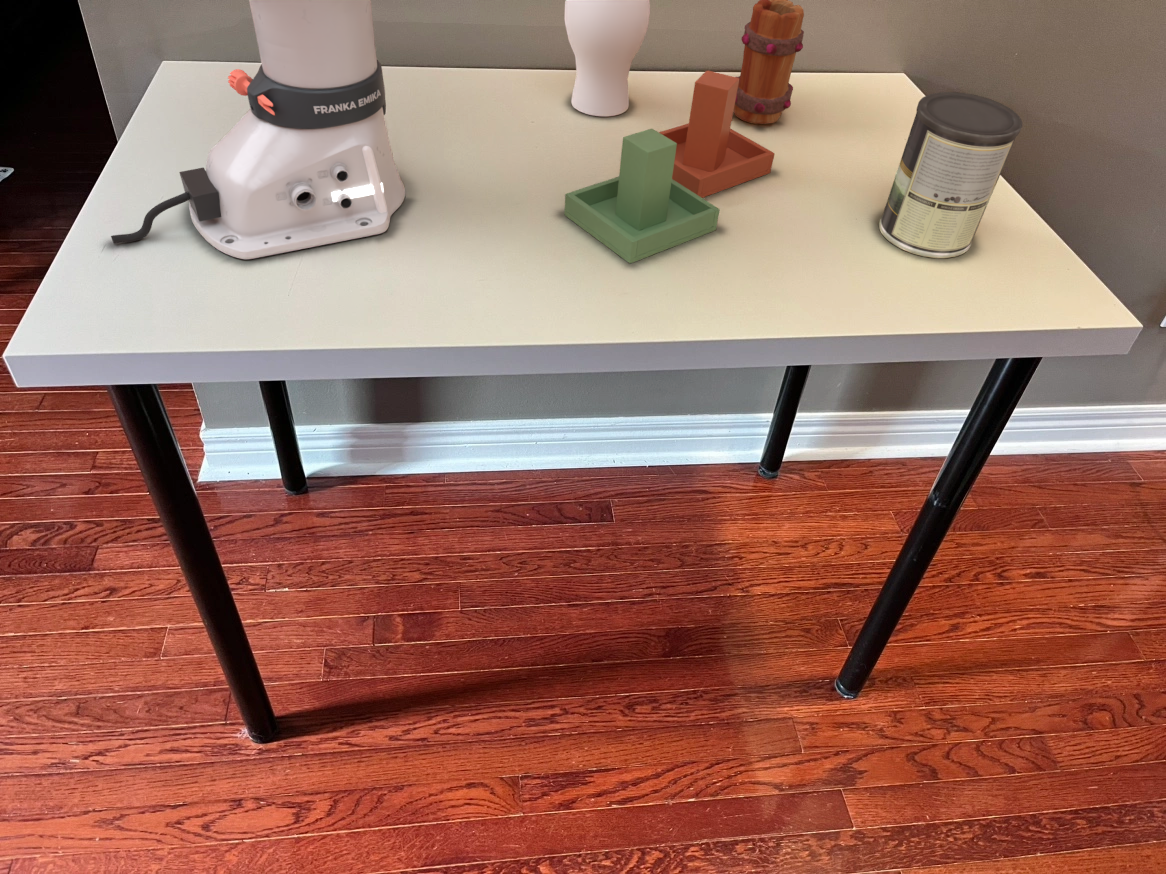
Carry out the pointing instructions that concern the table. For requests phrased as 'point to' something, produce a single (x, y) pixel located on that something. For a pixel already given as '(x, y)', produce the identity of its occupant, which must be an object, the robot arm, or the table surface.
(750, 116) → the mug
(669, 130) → the terracotta tray
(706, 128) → the terracotta block
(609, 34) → the white vase
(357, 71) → the robot arm
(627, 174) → the green block
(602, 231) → the green tray
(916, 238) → the coffee can
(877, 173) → the table surface
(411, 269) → the table surface
